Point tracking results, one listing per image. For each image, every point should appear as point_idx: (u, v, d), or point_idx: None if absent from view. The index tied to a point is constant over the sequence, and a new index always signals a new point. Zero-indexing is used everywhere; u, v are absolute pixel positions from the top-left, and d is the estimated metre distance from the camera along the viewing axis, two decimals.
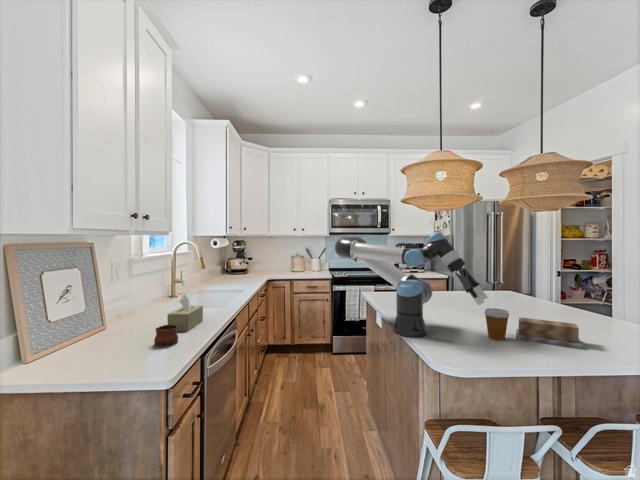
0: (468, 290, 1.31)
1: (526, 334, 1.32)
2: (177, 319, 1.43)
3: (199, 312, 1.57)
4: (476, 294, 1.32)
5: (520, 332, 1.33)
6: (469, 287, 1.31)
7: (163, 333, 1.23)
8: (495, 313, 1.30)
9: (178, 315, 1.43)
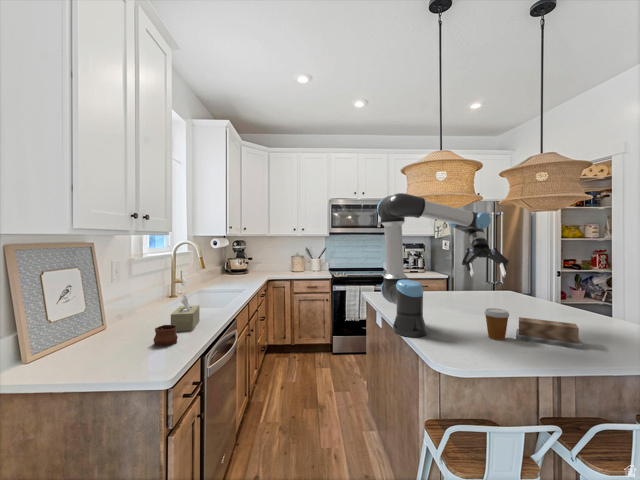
0: (507, 262, 1.46)
1: (526, 334, 1.32)
2: (181, 319, 1.43)
3: (198, 311, 1.58)
4: None
5: (520, 332, 1.33)
6: None
7: (163, 333, 1.23)
8: (495, 313, 1.30)
9: (182, 315, 1.43)
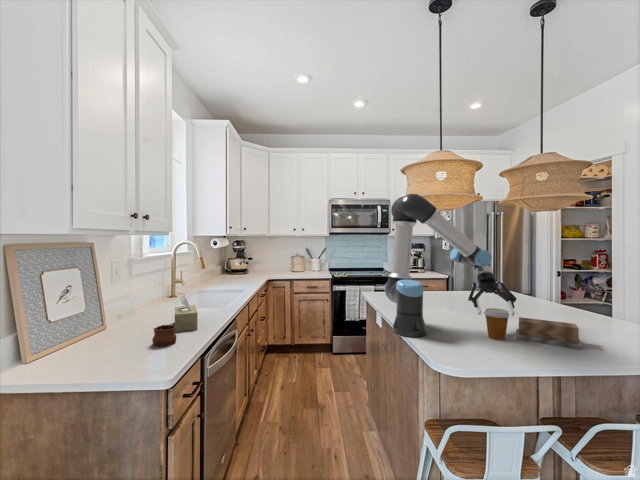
0: (515, 300, 1.41)
1: (526, 334, 1.32)
2: (186, 318, 1.44)
3: None
4: None
5: (520, 332, 1.33)
6: None
7: (162, 333, 1.23)
8: (495, 313, 1.30)
9: (187, 315, 1.44)
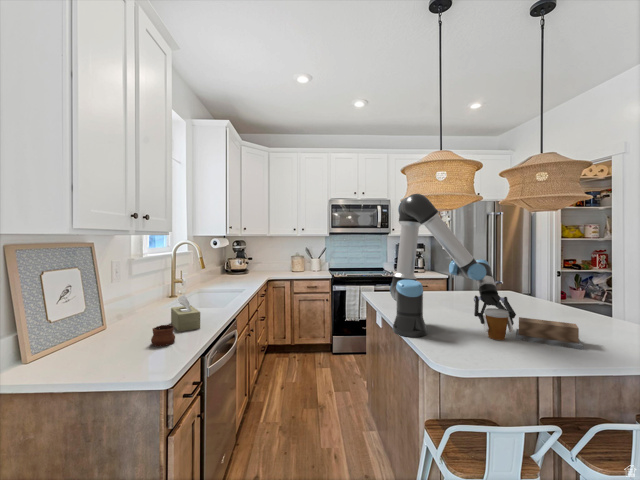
0: None
1: (526, 334, 1.32)
2: (189, 318, 1.45)
3: None
4: None
5: (520, 332, 1.33)
6: None
7: (160, 333, 1.23)
8: (495, 313, 1.30)
9: (190, 314, 1.45)
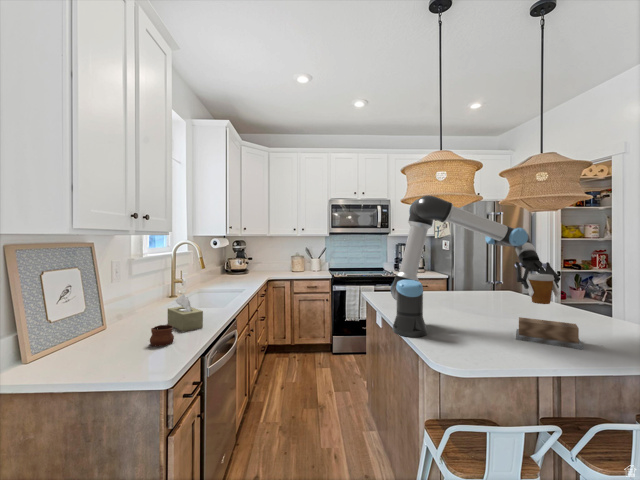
0: (559, 280, 1.32)
1: (526, 334, 1.32)
2: (193, 317, 1.46)
3: None
4: None
5: (520, 332, 1.33)
6: None
7: (160, 333, 1.23)
8: (540, 276, 1.28)
9: (193, 314, 1.46)
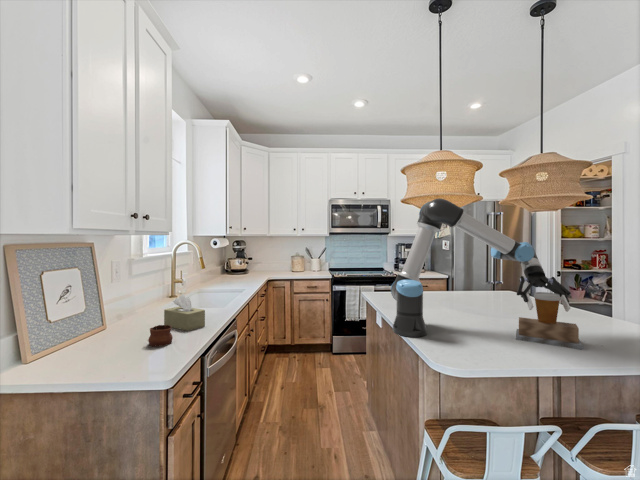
0: (569, 294, 1.32)
1: (526, 334, 1.32)
2: (197, 317, 1.47)
3: None
4: None
5: (520, 332, 1.33)
6: None
7: (157, 333, 1.22)
8: (546, 296, 1.29)
9: (197, 313, 1.48)
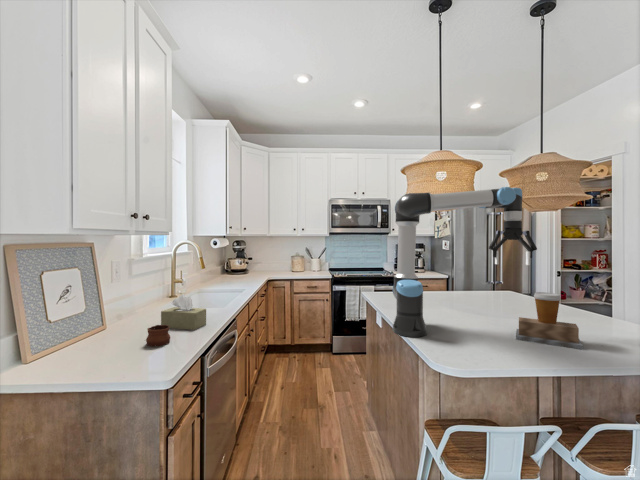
0: (535, 249, 1.46)
1: (526, 334, 1.32)
2: (201, 315, 1.50)
3: None
4: None
5: (520, 332, 1.33)
6: None
7: (155, 333, 1.22)
8: (547, 296, 1.29)
9: (201, 311, 1.50)
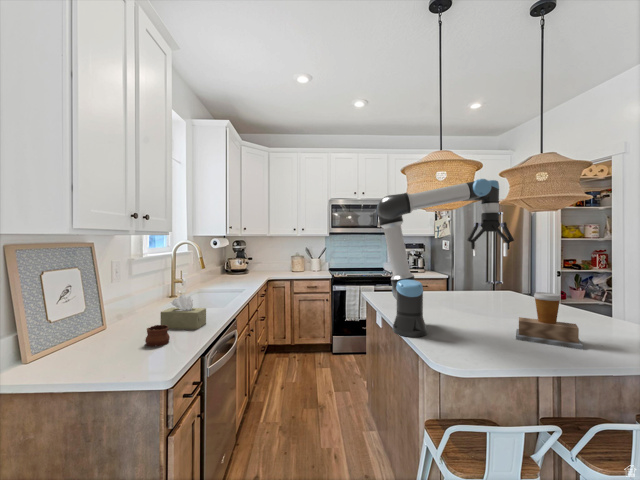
0: None
1: (526, 334, 1.32)
2: (202, 315, 1.51)
3: None
4: None
5: (520, 332, 1.33)
6: None
7: (155, 333, 1.22)
8: (547, 296, 1.29)
9: (202, 311, 1.51)
